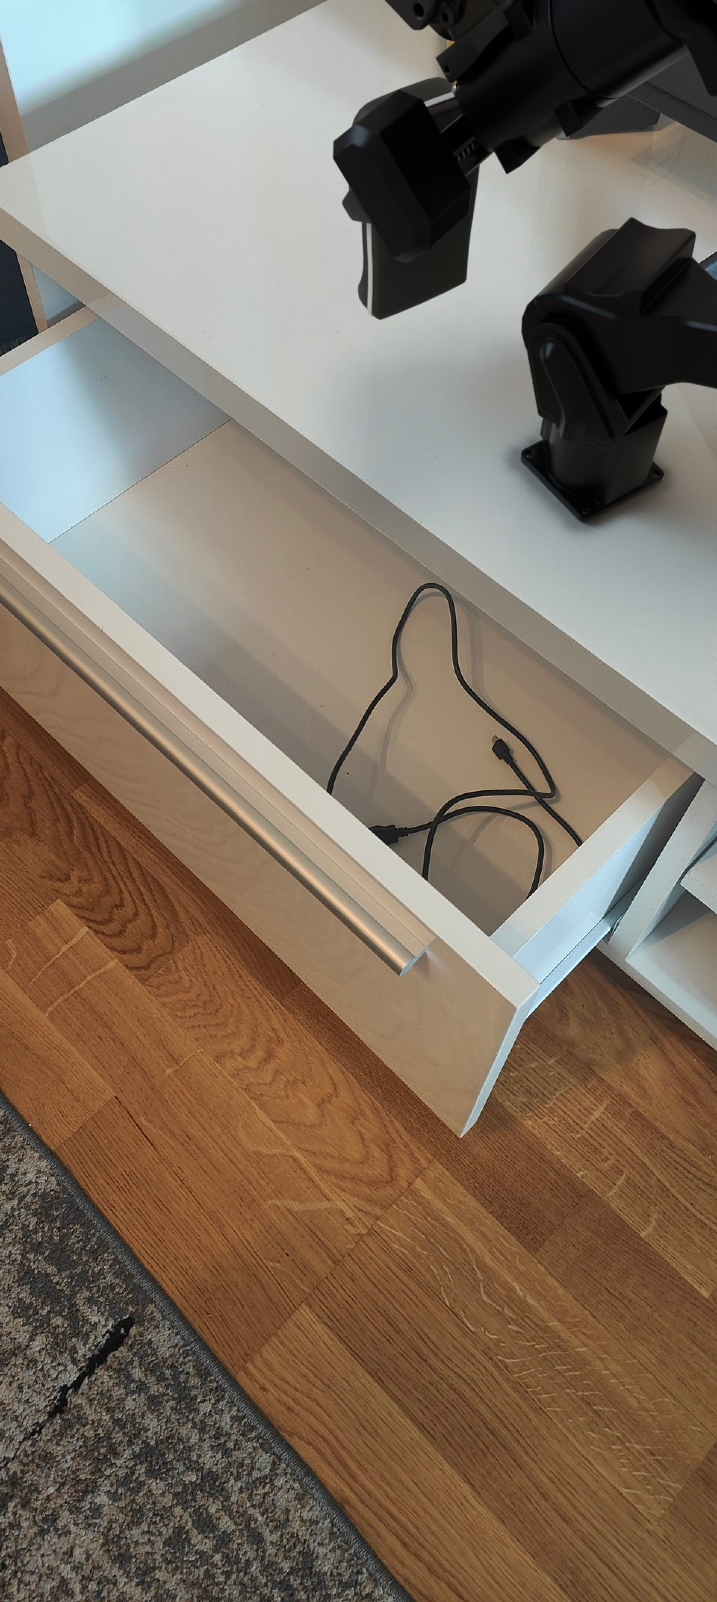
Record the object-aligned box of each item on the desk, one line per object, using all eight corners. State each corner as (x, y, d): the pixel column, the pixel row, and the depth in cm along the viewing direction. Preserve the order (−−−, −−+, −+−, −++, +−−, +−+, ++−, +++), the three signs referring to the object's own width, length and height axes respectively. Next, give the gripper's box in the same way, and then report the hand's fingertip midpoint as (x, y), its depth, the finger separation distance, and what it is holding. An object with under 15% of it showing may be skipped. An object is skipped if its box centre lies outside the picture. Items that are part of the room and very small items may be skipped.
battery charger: (435, 250, 70) (448, 55, 60) (471, 284, 68) (491, 90, 58) (340, 291, 68) (337, 97, 58) (375, 327, 66) (378, 134, 56)
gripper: (621, -248, 50) (408, -45, 63) (367, -73, 43) (187, 115, 56) (728, 6, 54) (510, 146, 67) (515, 201, 47) (317, 316, 60)
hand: (389, 175), depth 63 cm, fingers closed on battery charger, 7 cm apart
